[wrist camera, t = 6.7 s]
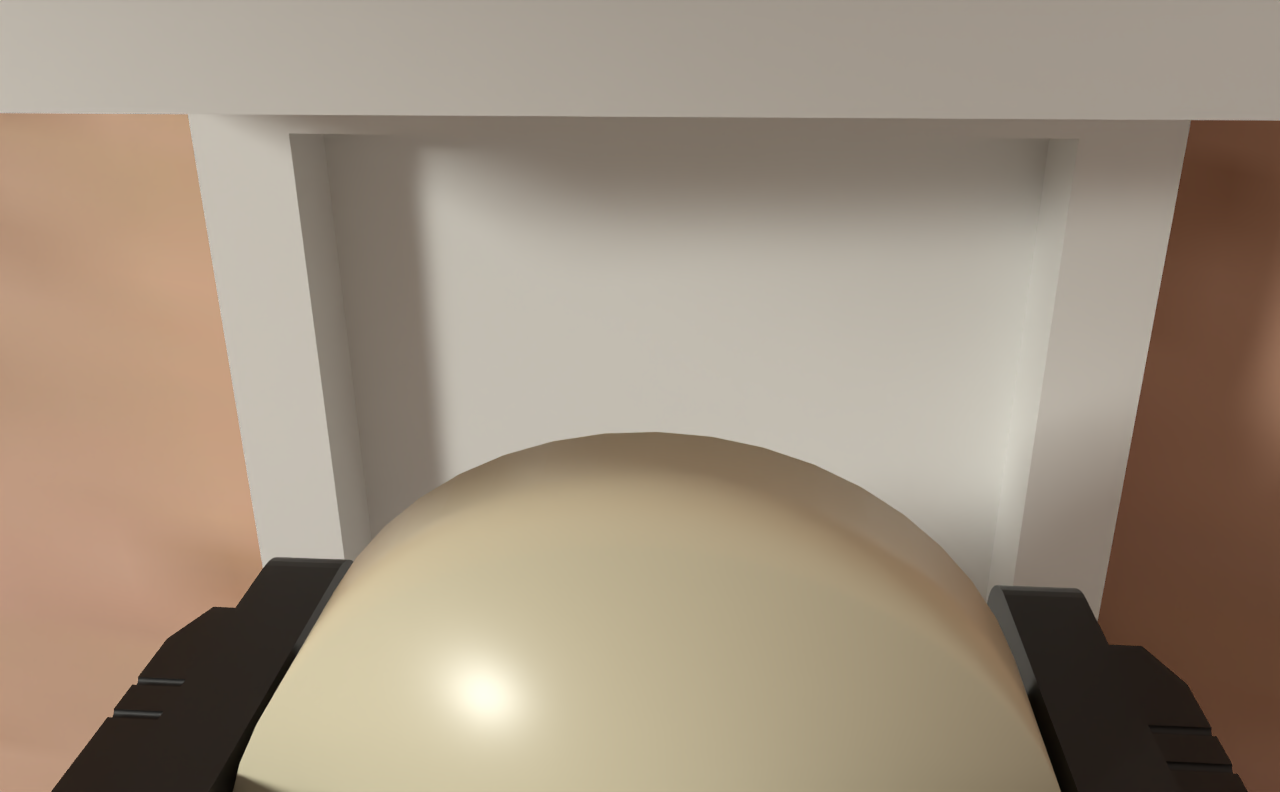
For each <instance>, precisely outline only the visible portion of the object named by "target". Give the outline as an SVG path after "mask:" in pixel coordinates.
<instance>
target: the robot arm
mask: <svg viewBox="0 0 1280 792" xmlns="http://www.w3.org/2000/svg"><path fill="white" fill-rule="evenodd" d="M352 563H353V561H352V560H345V559H318V558H291V557H275V558H272V559H271V560H269V561H268V563H267V564H266V565H265V566H264V568H263V569H262V571H261V572H260V573H259V575H258V576H257V578H256V579H255V581H254V582H253V584H252V585H251V586H250V588H249V589H248V591H247V592H246V594H245V595H244V596H243V598H242V599H241V601H240V602H239V604H238V605H237V606H236V608H226V607H213V608H211V609H210V610H208V611H207V612H205V613H204V614H202V615H201V616H200V617H198V618H197V619H195V620H194V621H192V622H191V623H189V624H188V625H187V626H185V627H184V628H182V629H181V630H179V631H178V632H176V633H175V634H173V635H172V636H171V637H169V638H168V639H167V640H166V641H165V642H164V644H163V645H162V646H161V648H160V649H159V650H158V652H157V653H156V654H155V656H154V657H153V658H152V659H151V661H150V662H149V663H148V665H147V666H146V667H145V669H144V670H143V671H142V673H141V674H140V675H139V677H138V684H137V685H132V686H131V687H130V688H129V690H128V691H127V692H126V694H125V695H124V696H123V698H122V699H121V700H120V702H119V703H118V704H117V706H116V707H115V708H114V715H113V717H112V718H110V717H107V719H106V720H105V721H104V723H103V724H102V725H101V727H100V728H99V729H98V731H97V732H96V733H95V735H94V736H93V737H92V739H91V740H90V741H89V742H88V744H87V745H86V746H85V748H84V749H83V750H82V752H81V753H80V754H79V756H78V757H77V758H76V760H75V761H74V762H73V764H72V765H71V766H70V768H69V769H68V770H67V771H66V773H65V774H64V775H63V777H62V778H61V779H60V781H59V782H58V783H57V785H56V786H55V787H54V789H53V790H52V791H51V792H233V789H234V785H235V781H236V776H237V772H238V768H239V764H240V761H241V759H242V757H243V754H244V752H245V750H246V748H247V745H248V743H249V741H250V738H251V736H252V734H253V731H254V729H255V727H256V725H257V723H258V721H259V719H260V717H261V716H262V714H263V712H264V711H265V709H266V707H267V705H268V704H269V702H270V700H271V699H272V697H273V695H274V693H275V692H276V690H277V688H278V687H279V685H280V683H281V681H282V680H283V678H284V676H285V675H286V673H287V671H288V669H289V668H290V666H291V664H292V663H293V661H294V659H295V657H296V656H297V654H298V652H299V651H300V649H301V647H302V645H303V644H304V642H305V640H306V639H307V637H308V635H309V633H310V632H311V630H312V628H313V627H314V625H315V623H316V621H317V620H318V618H319V616H320V615H321V613H322V611H323V609H324V608H325V606H326V604H327V603H328V601H329V599H330V597H331V596H332V594H333V592H334V591H335V589H336V588H337V586H338V585H339V583H340V582H341V580H342V578H343V577H344V575H345V574H346V572H347V571H348V569H349V568H350V566H351V565H352ZM987 605H988V606H989V608H990V609H991V611H992V613H993V614H994V616H995V617H996V619H997V621H998V623H999V625H1000V628H1001V630H1002V632H1003V634H1004V636H1005V639H1006V641H1007V643H1008V645H1009V648H1010V650H1011V652H1012V654H1013V656H1014V659H1015V662H1016V665H1017V668H1018V670H1019V673H1020V676H1021V679H1022V682H1023V685H1024V688H1025V690H1026V693H1027V696H1028V699H1029V702H1030V705H1031V707H1032V710H1033V713H1034V716H1035V719H1036V722H1037V725H1038V727H1039V730H1040V733H1041V736H1042V739H1043V742H1044V745H1045V747H1046V750H1047V753H1048V756H1049V759H1050V762H1051V764H1052V767H1053V770H1054V773H1055V776H1056V779H1057V782H1058V784H1059V787H1060V790H1061V792H1248V791H1247V790H1246V788H1245V786H1244V784H1243V783H1242V781H1241V779H1240V777H1239V775H1238V774H1233V772H1232V763H1231V761H1230V760H1229V758H1228V756H1227V754H1226V752H1225V751H1224V749H1223V747H1222V745H1221V744H1220V742H1219V740H1218V738H1217V737H1216V736H1212V734H1211V726H1210V724H1209V722H1208V721H1207V719H1206V717H1205V715H1204V714H1203V712H1202V710H1201V708H1200V706H1199V705H1198V703H1197V701H1196V699H1195V698H1194V696H1193V694H1192V692H1191V691H1190V689H1189V687H1188V685H1187V684H1186V683H1185V682H1184V681H1182V680H1181V679H1180V678H1179V677H1178V676H1177V675H1175V674H1174V673H1173V672H1172V671H1171V670H1169V669H1168V668H1167V667H1166V666H1165V665H1163V664H1162V663H1161V662H1160V661H1159V660H1158V659H1156V658H1155V657H1154V656H1153V655H1152V654H1150V653H1149V652H1148V651H1147V650H1146V649H1144V648H1143V647H1142V646H1123V645H1109V644H1108V642H1107V640H1106V638H1105V636H1104V634H1103V632H1102V630H1101V628H1100V626H1099V624H1098V622H1097V620H1096V618H1095V616H1094V614H1093V612H1092V610H1091V608H1090V606H1089V604H1088V602H1087V600H1086V598H1085V596H1084V594H1083V593H1082V592H1081V591H1080V590H1079V589H1077V588H1058V587H1032V586H1005V585H995V586H994V587H993V588H992V589H991V591H990V594H989V597H988V601H987Z"/></svg>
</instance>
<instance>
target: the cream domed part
mask: <svg viewBox="0 0 1280 792" xmlns="http://www.w3.org/2000/svg"><path fill="white" fill-rule="evenodd" d="M233 792H1061V790H1060V787H1059V784H1058V782H1057V779H1056V776H1055V773H1054V770H1053V767H1052V764H1051V762H1050V759H1049V756H1048V753H1047V750H1046V747H1045V745H1044V742H1043V739H1042V736H1041V733H1040V730H1039V727H1038V725H1037V722H1036V719H1035V716H1034V713H1033V710H1032V707H1031V705H1030V702H1029V699H1028V696H1027V693H1026V690H1025V688H1024V685H1023V682H1022V679H1021V676H1020V673H1019V670H1018V668H1017V665H1016V662H1015V659H1014V656H1013V654H1012V652H1011V650H1010V648H1009V645H1008V643H1007V641H1006V639H1005V636H1004V634H1003V632H1002V630H1001V628H1000V625H999V623H998V621H997V619H996V617H995V616H994V614H993V613H992V611H991V609H990V608H989V606H988V605H987V603H986V602H985V600H984V599H983V597H982V596H981V594H980V593H979V591H978V590H977V588H976V586H975V585H974V583H973V582H972V581H971V579H970V578H969V577H968V576H967V575H966V574H965V573H964V572H963V570H962V569H961V568H960V567H959V566H958V565H957V564H956V563H955V561H954V560H953V559H952V558H951V557H950V556H949V555H948V554H947V552H946V551H945V550H944V549H943V548H942V547H941V546H940V545H939V544H938V543H937V542H935V541H934V540H933V539H932V538H931V537H930V536H928V535H927V534H926V533H925V532H924V531H923V530H921V529H920V528H919V527H918V526H917V525H915V524H914V523H913V522H912V521H911V520H910V519H908V518H907V517H906V516H905V515H904V514H902V513H901V512H899V511H897V510H896V509H894V508H893V507H891V506H890V505H888V504H887V503H885V502H884V501H882V500H880V499H879V498H877V497H876V496H874V495H873V494H871V493H870V492H868V491H867V490H865V489H863V488H862V487H860V486H858V485H856V484H854V483H852V482H850V481H847V480H845V479H843V478H841V477H839V476H837V475H835V474H833V473H831V472H829V471H827V470H825V469H822V468H820V467H818V466H816V465H814V464H811V463H808V462H805V461H802V460H799V459H796V458H793V457H790V456H787V455H784V454H781V453H778V452H775V451H772V450H769V449H767V448H763V447H758V446H754V445H749V444H744V443H739V442H735V441H730V440H725V439H720V438H716V437H710V436H699V435H687V434H676V433H665V432H636V433H604V434H598V435H591V436H584V437H578V438H571V439H564V440H558V441H552V442H548V443H545V444H541V445H538V446H534V447H531V448H527V449H524V450H520V451H516V452H513V453H509V454H506V455H503V456H501V457H498V458H496V459H494V460H491V461H489V462H487V463H484V464H482V465H480V466H477V467H475V468H472V469H470V470H468V471H465V472H463V473H461V474H459V475H457V476H455V477H454V478H452V479H450V480H449V481H447V482H445V483H444V484H442V485H440V486H439V487H437V488H435V489H434V490H432V491H430V492H429V493H427V494H425V495H424V496H422V497H420V498H419V499H418V500H416V501H415V502H414V503H413V504H411V505H410V506H409V507H408V508H406V509H405V510H404V511H403V512H402V513H400V514H399V515H398V516H397V517H395V518H394V519H393V520H392V521H390V522H389V523H388V524H387V525H386V526H384V528H383V529H382V530H381V531H380V532H379V533H378V534H377V535H376V536H375V537H374V539H373V540H372V541H371V542H370V543H369V544H368V545H367V546H366V547H365V548H364V550H363V551H362V552H361V553H360V554H359V555H358V556H357V557H356V559H355V560H354V562H353V563H352V565H351V566H350V568H349V569H348V571H347V572H346V574H345V575H344V577H343V578H342V580H341V582H340V583H339V585H338V586H337V588H336V589H335V591H334V592H333V594H332V596H331V597H330V599H329V601H328V603H327V604H326V606H325V608H324V609H323V611H322V613H321V615H320V616H319V618H318V620H317V621H316V623H315V625H314V627H313V628H312V630H311V632H310V633H309V635H308V637H307V639H306V640H305V642H304V644H303V645H302V647H301V649H300V651H299V652H298V654H297V656H296V657H295V659H294V661H293V663H292V664H291V666H290V668H289V669H288V671H287V673H286V675H285V676H284V678H283V680H282V681H281V683H280V685H279V687H278V688H277V690H276V692H275V693H274V695H273V697H272V699H271V700H270V702H269V704H268V705H267V707H266V709H265V711H264V712H263V714H262V716H261V717H260V719H259V721H258V723H257V725H256V727H255V729H254V731H253V734H252V736H251V738H250V741H249V743H248V745H247V748H246V750H245V752H244V754H243V757H242V759H241V761H240V764H239V768H238V772H237V776H236V781H235V785H234V789H233Z"/></svg>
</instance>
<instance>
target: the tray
mask: <svg viewBox="0 0 1280 792" xmlns="http://www.w3.org/2000/svg"><path fill="white" fill-rule="evenodd" d="M0 113H74V114H188V118H189V124H190V130H191V136H192V142H193V149H194V155H195V161H196V167H197V173H198V179H199V185H200V191H201V197H202V203H203V209H204V215H205V221H206V227H207V233H208V239H209V245H210V251H211V257H212V263H213V269H214V275H215V281H216V287H217V294H218V300H219V306H220V312H221V318H222V324H223V330H224V336H225V342H226V348H227V354H228V360H229V366H230V372H231V378H232V384H233V390H234V396H235V402H236V408H237V414H238V420H239V426H240V433H241V439H242V445H243V451H244V457H245V463H246V469H247V475H248V481H249V487H250V493H251V499H252V505H253V511H254V517H255V523H256V529H257V535H258V541H259V547H260V553H261V559H262V565H263V568H264V566H265V565H266V564H267V563H268V561H269V560H271V559H272V558H275V557H291V558H318V559H345V560H352V561H353V562H354V560H355V559H356V557H357V556H358V555H359V554H360V553H361V552H362V551H363V550H364V548H365V547H366V546H367V545H368V544H369V543H370V542H371V541H372V540H373V539H374V537H375V536H376V535H377V534H378V533H379V532H380V531H381V530H382V529H383V528H384V526H386V525H387V524H388V523H389V522H390V521H392V520H393V519H394V518H395V517H397V516H398V515H399V514H400V513H402V512H403V511H404V510H405V509H406V508H408V507H409V506H410V505H411V504H413V503H414V502H415V501H416V500H418V499H419V498H420V497H422V496H424V495H425V494H427V493H429V492H430V491H432V490H434V489H435V488H437V487H439V486H440V485H442V484H444V483H445V482H447V481H449V480H450V479H452V478H454V477H455V476H457V475H459V474H461V473H463V472H465V471H468V470H470V469H472V468H475V467H477V466H480V465H482V464H484V463H487V462H489V461H491V460H494V459H496V458H498V457H501V456H503V455H506V454H509V453H513V452H516V451H520V450H524V449H527V448H531V447H534V446H538V445H541V444H545V443H548V442H552V441H558V440H564V439H571V438H578V437H584V436H591V435H598V434H604V433H636V432H665V433H676V434H687V435H699V436H710V437H716V438H720V439H725V440H730V441H735V442H739V443H744V444H749V445H754V446H758V447H763V448H767V449H769V450H772V451H775V452H778V453H781V454H784V455H787V456H790V457H793V458H796V459H799V460H802V461H805V462H808V463H811V464H814V465H816V466H818V467H820V468H822V469H825V470H827V471H829V472H831V473H833V474H835V475H837V476H839V477H841V478H843V479H845V480H847V481H850V482H852V483H854V484H856V485H858V486H860V487H862V488H863V489H865V490H867V491H868V492H870V493H871V494H873V495H874V496H876V497H877V498H879V499H880V500H882V501H884V502H885V503H887V504H888V505H890V506H891V507H893V508H894V509H896V510H897V511H899V512H901V513H902V514H904V515H905V516H906V517H907V518H908V519H910V520H911V521H912V522H913V523H914V524H915V525H917V526H918V527H919V528H920V529H921V530H923V531H924V532H925V533H926V534H927V535H928V536H930V537H931V538H932V539H933V540H934V541H935V542H937V543H938V544H939V545H940V546H941V547H942V548H943V549H944V550H945V551H946V552H947V554H948V555H949V556H950V557H951V558H952V559H953V560H954V561H955V563H956V564H957V565H958V566H959V567H960V568H961V569H962V570H963V572H964V573H965V574H966V575H967V576H968V577H969V578H970V579H971V581H972V582H973V583H974V585H975V586H976V588H977V590H978V591H979V593H980V594H981V596H982V597H983V599H984V600H985V602H986V603H987V601H988V597H989V594H990V591H991V589H992V588H993V587H994V586H995V585H1005V586H1032V587H1058V588H1077V589H1079V590H1080V591H1081V592H1082V593H1083V594H1084V596H1085V598H1086V600H1087V602H1088V604H1089V606H1090V608H1091V610H1092V612H1093V614H1094V616H1095V618H1096V620H1097V622H1098V617H1099V611H1100V606H1101V601H1102V595H1103V590H1104V584H1105V579H1106V574H1107V568H1108V563H1109V558H1110V552H1111V547H1112V542H1113V536H1114V531H1115V525H1116V520H1117V515H1118V509H1119V504H1120V499H1121V493H1122V488H1123V483H1124V477H1125V472H1126V466H1127V461H1128V456H1129V450H1130V445H1131V440H1132V434H1133V429H1134V424H1135V418H1136V413H1137V407H1138V402H1139V397H1140V391H1141V386H1142V381H1143V375H1144V370H1145V365H1146V359H1147V354H1148V348H1149V343H1150V338H1151V332H1152V327H1153V322H1154V316H1155V311H1156V306H1157V300H1158V295H1159V289H1160V284H1161V279H1162V273H1163V268H1164V263H1165V257H1166V252H1167V247H1168V241H1169V236H1170V230H1171V225H1172V220H1173V214H1174V209H1175V204H1176V198H1177V193H1178V188H1179V182H1180V177H1181V171H1182V166H1183V161H1184V155H1185V150H1186V145H1187V139H1188V134H1189V129H1190V123H1191V120H1269V121H1280V0H0Z"/></svg>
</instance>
